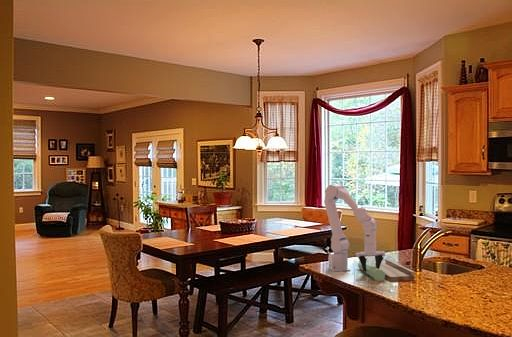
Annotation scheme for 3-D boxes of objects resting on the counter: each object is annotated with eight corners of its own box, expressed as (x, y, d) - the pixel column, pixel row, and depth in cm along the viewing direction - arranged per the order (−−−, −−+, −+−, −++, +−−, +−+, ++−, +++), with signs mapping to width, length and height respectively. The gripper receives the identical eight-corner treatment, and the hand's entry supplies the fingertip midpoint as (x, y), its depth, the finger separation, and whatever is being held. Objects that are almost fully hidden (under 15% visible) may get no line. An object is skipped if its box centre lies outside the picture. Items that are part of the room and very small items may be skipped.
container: (358, 257, 234) (375, 267, 209) (368, 261, 235) (387, 271, 210) (354, 267, 234) (371, 279, 209) (364, 271, 234) (382, 283, 210)
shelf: (390, 281, 209) (390, 272, 209) (366, 267, 236) (366, 259, 236) (414, 280, 210) (414, 271, 210) (388, 266, 238) (387, 259, 238)
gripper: (359, 245, 217) (359, 273, 217) (387, 244, 219) (388, 271, 219) (354, 243, 224) (354, 270, 224) (381, 241, 226) (381, 268, 226)
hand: (370, 270), depth 222 cm, fingers open, 6 cm apart
